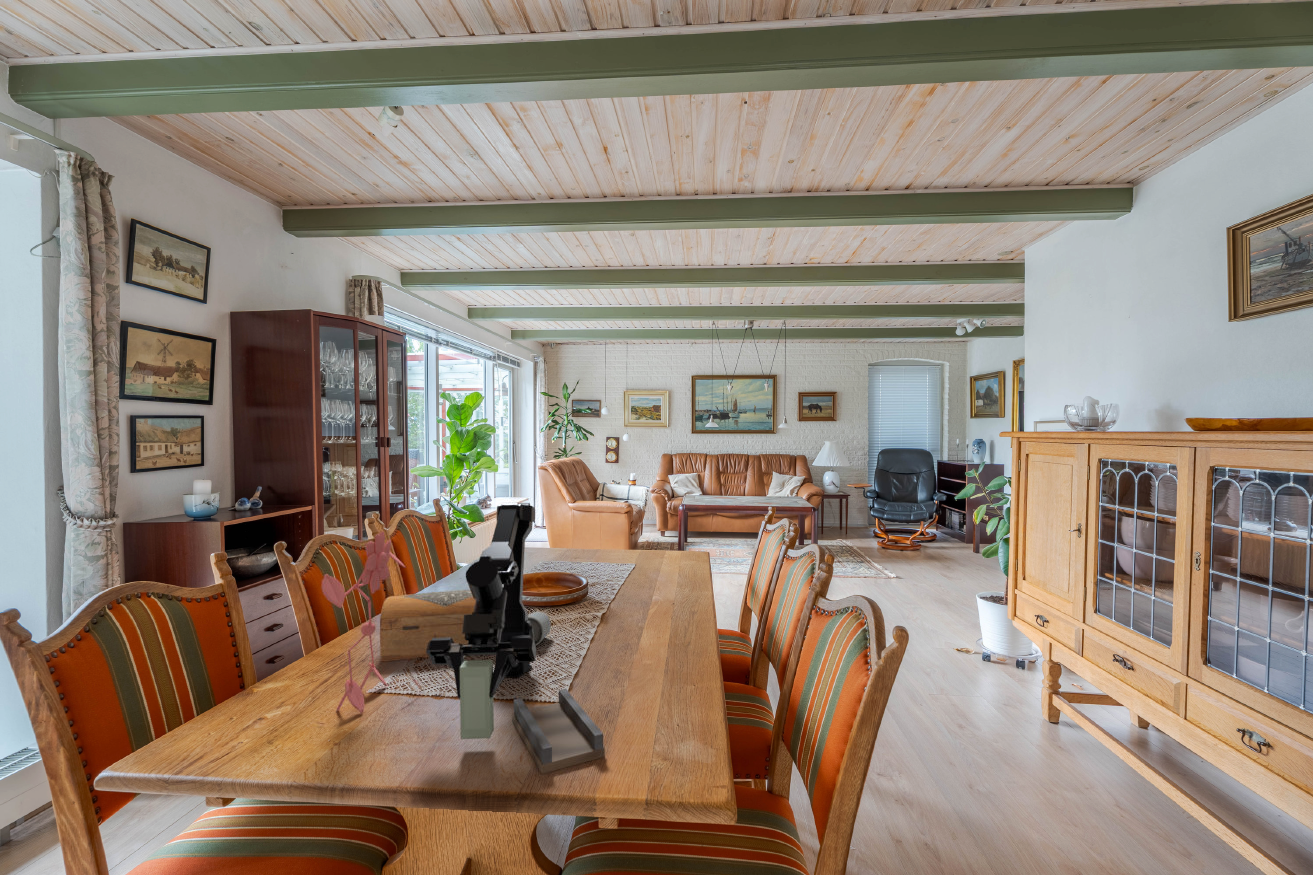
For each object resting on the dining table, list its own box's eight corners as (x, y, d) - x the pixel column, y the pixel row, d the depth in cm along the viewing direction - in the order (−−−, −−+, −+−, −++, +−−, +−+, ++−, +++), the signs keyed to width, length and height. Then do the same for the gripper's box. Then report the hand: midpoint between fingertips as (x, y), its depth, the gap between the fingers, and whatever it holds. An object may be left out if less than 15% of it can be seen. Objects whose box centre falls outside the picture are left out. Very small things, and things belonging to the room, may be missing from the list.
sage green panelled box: (465, 730, 106) (464, 660, 105) (493, 729, 106) (492, 659, 106) (460, 739, 103) (459, 667, 102) (489, 738, 103) (488, 666, 103)
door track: (512, 720, 114) (512, 699, 114) (567, 707, 119) (567, 688, 119) (541, 773, 96) (541, 749, 96) (604, 756, 101) (604, 733, 101)
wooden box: (507, 630, 167) (507, 580, 166) (506, 651, 151) (506, 596, 150) (393, 639, 160) (392, 588, 160) (379, 662, 144) (378, 605, 143)
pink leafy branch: (308, 731, 110) (309, 543, 110) (373, 674, 136) (374, 522, 136) (390, 732, 110) (392, 545, 110) (440, 675, 136) (442, 523, 136)
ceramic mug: (553, 636, 160) (552, 608, 160) (543, 647, 152) (542, 617, 152) (515, 636, 162) (514, 608, 161) (503, 647, 153) (503, 617, 153)
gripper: (428, 594, 107) (407, 680, 96) (532, 591, 108) (523, 677, 97) (442, 623, 115) (424, 705, 104) (539, 620, 116) (531, 702, 105)
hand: (474, 697), depth 103 cm, fingers closed on sage green panelled box, 5 cm apart
